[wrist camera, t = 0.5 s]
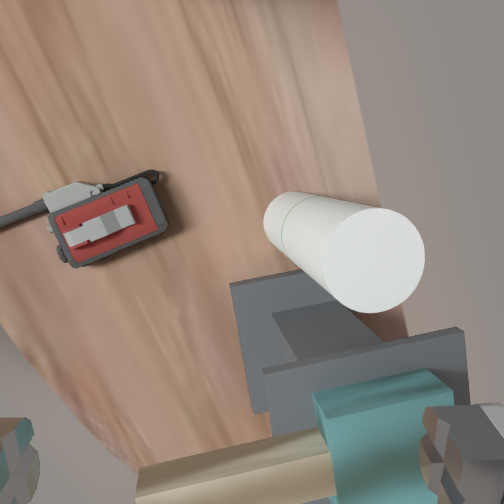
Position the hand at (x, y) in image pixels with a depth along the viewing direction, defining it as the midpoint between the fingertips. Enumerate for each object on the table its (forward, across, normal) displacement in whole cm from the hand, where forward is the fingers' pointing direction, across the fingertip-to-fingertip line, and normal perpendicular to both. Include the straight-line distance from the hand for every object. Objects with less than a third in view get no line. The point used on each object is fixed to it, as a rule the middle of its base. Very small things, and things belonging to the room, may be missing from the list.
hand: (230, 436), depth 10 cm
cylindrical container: (+46, -6, +9) cm, 48 cm away
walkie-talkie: (+44, +18, +8) cm, 48 cm away
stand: (+44, -7, +23) cm, 50 cm away
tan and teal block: (+18, -3, +17) cm, 25 cm away
